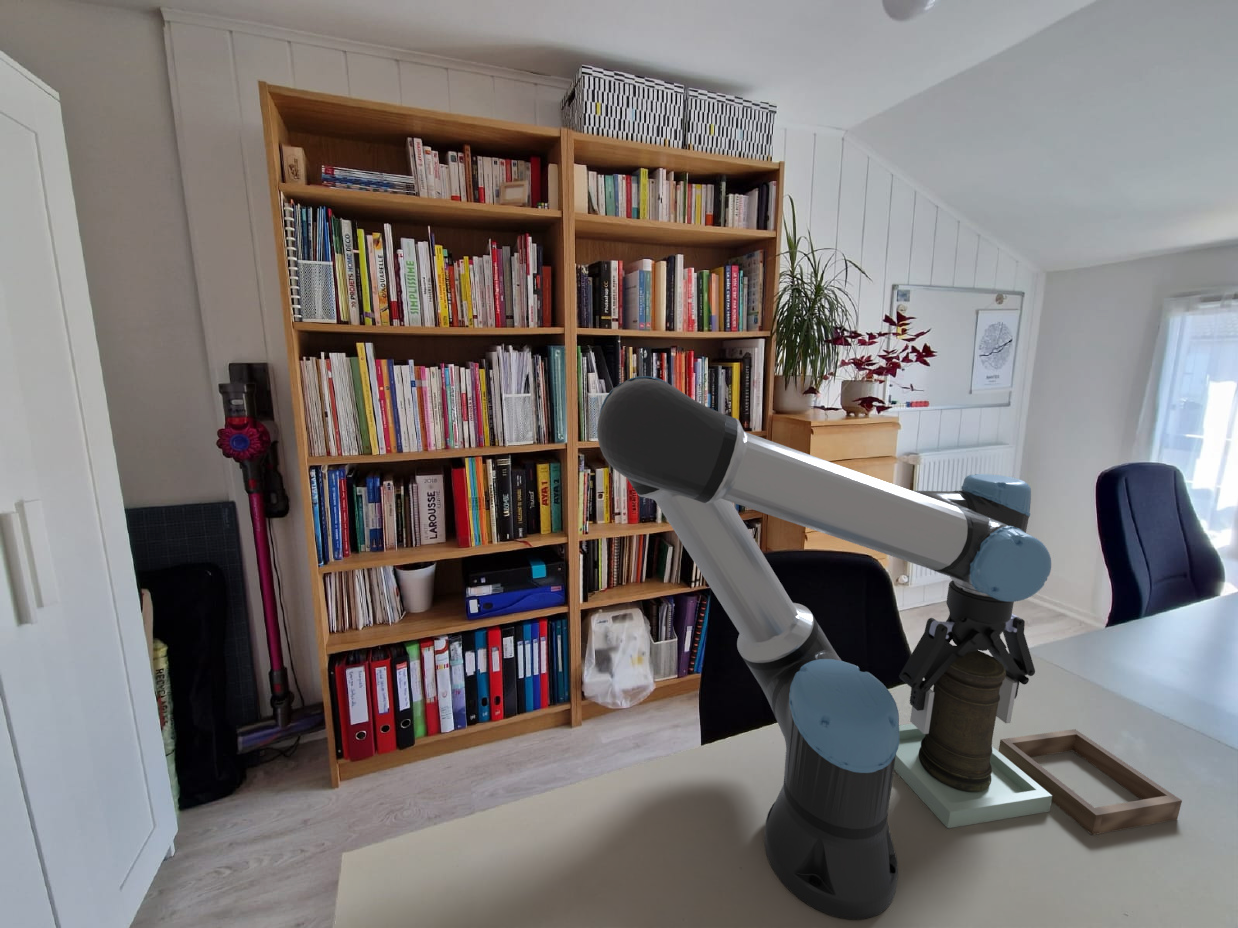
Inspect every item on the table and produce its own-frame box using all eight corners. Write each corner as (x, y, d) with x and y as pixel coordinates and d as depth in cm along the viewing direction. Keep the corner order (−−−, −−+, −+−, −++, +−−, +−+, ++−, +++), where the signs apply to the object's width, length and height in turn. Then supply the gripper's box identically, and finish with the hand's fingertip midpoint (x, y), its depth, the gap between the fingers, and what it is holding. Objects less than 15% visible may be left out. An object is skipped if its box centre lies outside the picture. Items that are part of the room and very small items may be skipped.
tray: (947, 828, 68) (950, 812, 68) (869, 742, 84) (871, 728, 83) (1049, 811, 71) (1052, 795, 71) (955, 731, 87) (957, 717, 86)
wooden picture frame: (1091, 834, 68) (1096, 815, 67) (997, 756, 81) (1000, 739, 81) (1177, 819, 70) (1182, 800, 70) (1071, 745, 84) (1075, 729, 83)
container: (1004, 794, 73) (1026, 679, 69) (939, 792, 73) (958, 677, 70) (964, 748, 82) (981, 643, 78) (906, 746, 82) (921, 642, 78)
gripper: (922, 605, 66) (902, 751, 70) (1084, 592, 70) (1056, 730, 74) (882, 580, 73) (867, 714, 77) (1031, 570, 78) (1009, 697, 82)
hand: (960, 722), depth 76 cm, fingers open, 13 cm apart
